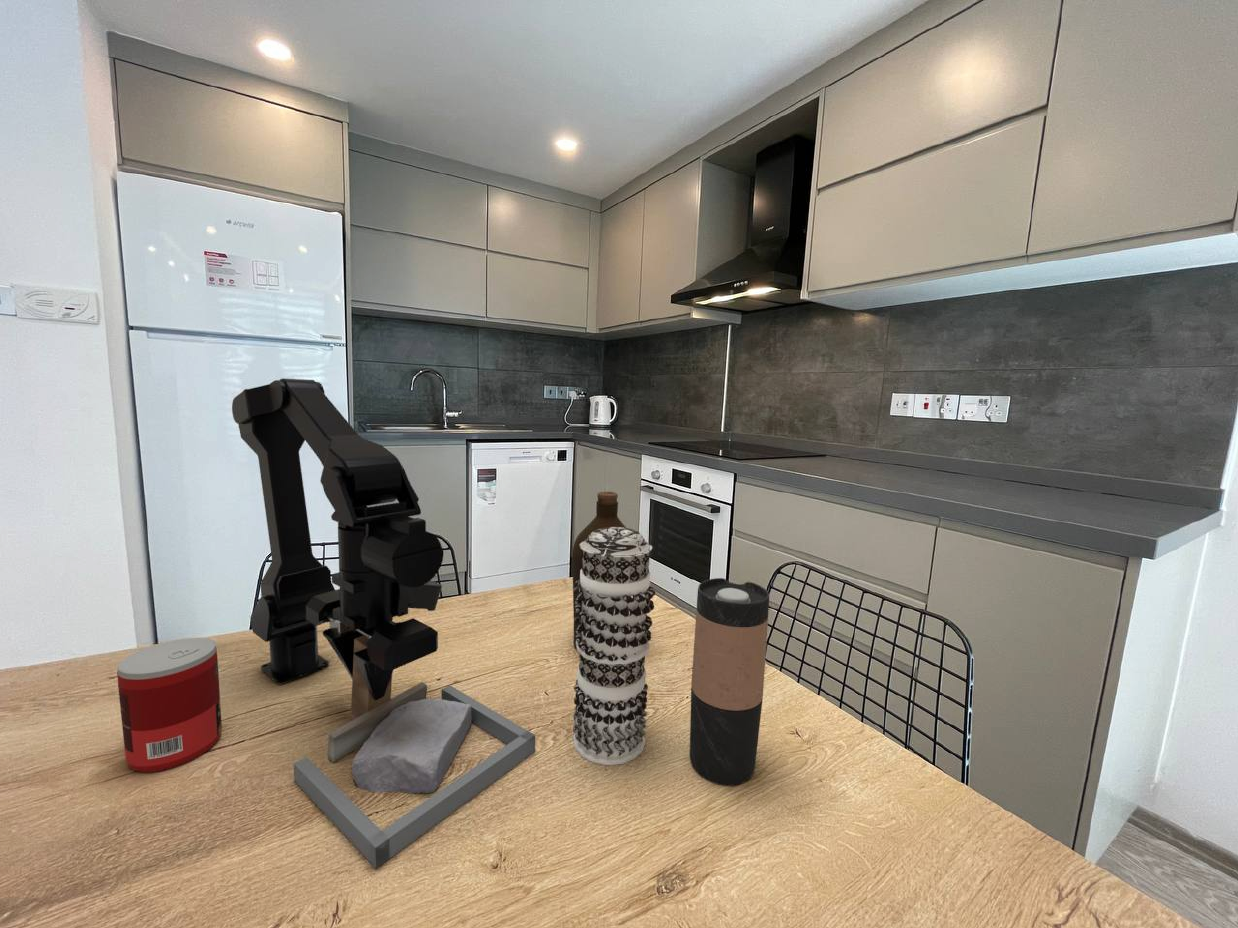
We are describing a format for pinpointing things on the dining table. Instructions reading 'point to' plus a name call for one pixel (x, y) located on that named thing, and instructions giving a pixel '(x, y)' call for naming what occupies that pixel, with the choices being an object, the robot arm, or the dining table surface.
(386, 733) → the stone block
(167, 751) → the canned food
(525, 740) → the frame
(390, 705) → the block
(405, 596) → the robot arm
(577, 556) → the olive oil
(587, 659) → the decorative candle
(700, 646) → the travel mug
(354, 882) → the dining table surface
